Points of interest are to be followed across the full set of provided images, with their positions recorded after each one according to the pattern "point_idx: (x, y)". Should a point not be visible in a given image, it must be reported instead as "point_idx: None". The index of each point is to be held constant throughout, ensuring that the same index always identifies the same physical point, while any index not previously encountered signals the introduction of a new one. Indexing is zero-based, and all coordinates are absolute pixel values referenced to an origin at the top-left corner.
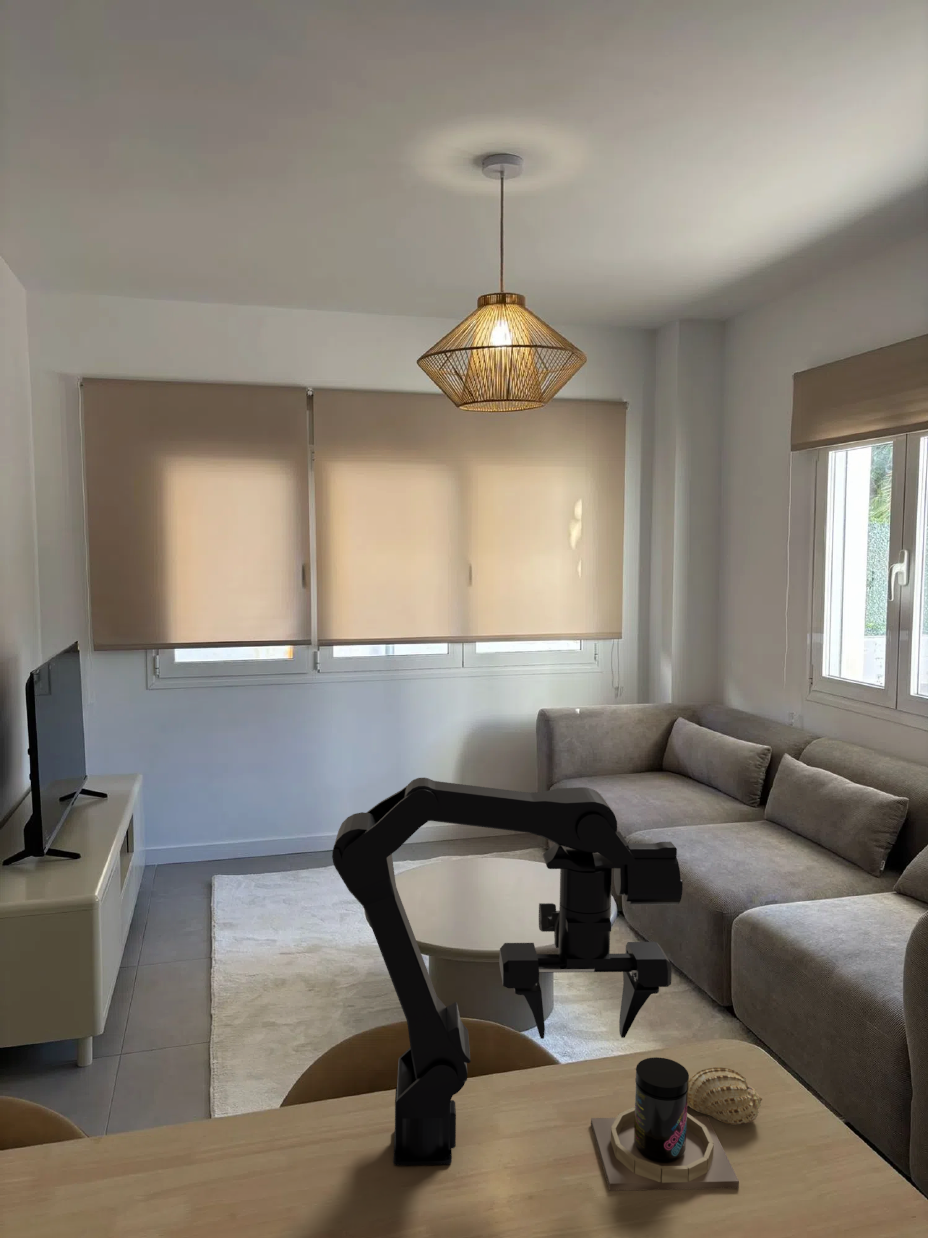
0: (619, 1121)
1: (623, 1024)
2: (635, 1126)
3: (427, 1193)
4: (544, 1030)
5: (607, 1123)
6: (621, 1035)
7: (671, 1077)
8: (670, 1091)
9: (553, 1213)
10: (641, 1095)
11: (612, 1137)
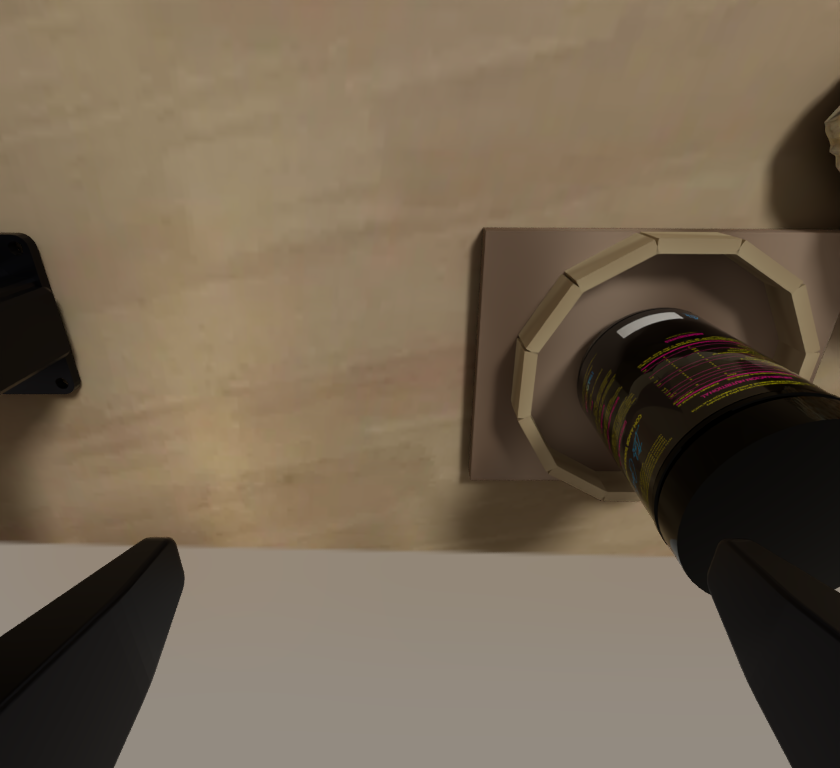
0: (562, 318)
1: (772, 724)
2: (594, 406)
3: (53, 464)
4: (153, 673)
5: (531, 259)
6: (714, 599)
7: (815, 551)
8: None
9: (336, 518)
10: (648, 508)
11: (519, 370)
